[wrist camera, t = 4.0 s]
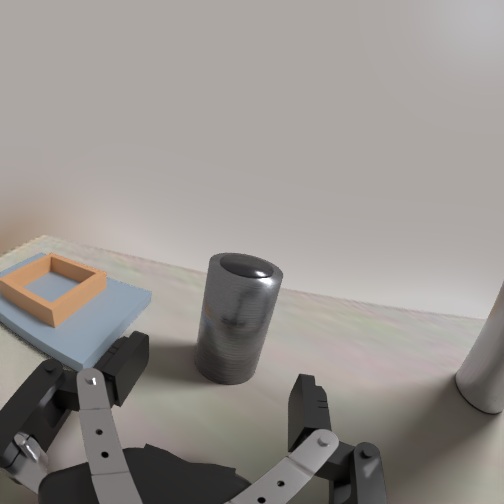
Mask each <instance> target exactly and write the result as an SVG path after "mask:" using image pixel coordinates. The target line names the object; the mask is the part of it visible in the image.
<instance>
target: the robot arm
mask: <svg viewBox="0 0 504 504" xmlns="http://www.w3.org/2000/svg"><path fill="white" fill-rule="evenodd" d="M148 359H149V336H148V335H147V334H144V333H141V332H138V331H134V332H133V333H132V334H131V335H130V337H129V338H128V337H125V336H124V337H122V338H120V339H118V340H116V341H115V342H114V343H113V345H112V346H111V347H110V348H109V349H108V350H107V352H106V353H105V354H104V355H103V356H102V357H101V358H100V360H99V361H98V362H97V363H96V364H95V365H94V367H93V368H85V369H82V370H81V371H80V372H79V373H78V372H72V371H68V370H64V369H63V366H62V364H61V363H60V362H59V361H57V360H53V359H48V360H45V361H43V362H42V363H41V364H40V365H39V366H38V367H37V368H36V369H35V370H34V371H33V373H32V374H31V375H30V376H29V377H28V378H27V379H26V380H25V382H24V383H23V384H22V385H21V386H20V387H19V389H18V390H17V391H16V392H15V393H14V395H13V396H12V397H11V398H10V399H9V401H8V402H7V403H6V404H5V405H4V407H3V408H2V409H1V410H0V470H1V471H2V472H3V473H4V474H5V475H6V476H8V477H9V478H10V479H11V480H13V481H14V482H15V483H17V484H20V485H24V486H25V487H26V488H28V489H29V490H31V491H32V492H34V493H35V494H37V495H38V500H39V504H286V503H287V502H288V501H289V500H290V499H291V498H292V497H293V496H294V495H295V494H296V493H297V492H298V491H299V490H300V489H301V488H302V487H303V486H304V485H305V484H306V483H307V482H308V481H309V480H310V479H311V478H312V477H313V475H315V476H318V477H321V478H325V479H328V480H329V504H387V497H386V490H385V482H384V475H383V469H382V463H381V457H380V452H379V450H378V448H377V447H376V446H375V445H373V444H371V443H367V442H363V443H360V444H358V445H357V446H356V447H355V446H351V445H348V444H345V443H342V442H340V441H339V440H338V437H337V436H336V435H335V434H334V433H333V432H332V430H331V423H330V416H329V409H328V403H327V395H326V393H325V391H324V389H323V388H322V386H316V385H315V377H314V376H312V375H305V374H299V376H298V378H297V380H296V382H295V384H294V387H293V389H292V391H291V393H290V397H289V402H288V452H292V453H291V454H290V455H289V456H286V457H285V458H284V459H282V460H281V461H280V462H279V463H278V464H277V465H275V466H274V467H273V468H272V469H271V470H270V471H268V472H267V473H266V474H265V475H263V476H262V477H261V478H260V479H259V480H257V481H256V482H255V483H253V484H251V483H250V482H249V481H247V480H246V479H244V478H243V477H241V476H239V475H236V474H235V471H236V469H235V468H230V467H225V466H220V465H216V464H204V463H189V462H186V461H184V460H183V459H181V458H179V457H177V456H175V455H173V454H172V453H170V452H168V451H166V450H163V449H160V448H157V447H154V446H152V445H149V444H146V445H145V447H144V448H125V449H122V448H121V445H120V441H119V438H118V435H117V431H116V428H115V424H114V420H113V416H112V413H111V408H112V406H113V405H117V406H119V407H121V406H122V404H123V402H124V401H125V399H126V398H127V396H128V394H129V393H130V391H131V390H132V388H133V386H134V385H135V383H136V382H137V380H138V378H139V377H140V375H141V374H142V372H143V371H144V369H145V367H146V366H147V363H148ZM456 383H457V386H458V388H459V390H460V392H461V393H462V395H463V396H464V397H465V398H466V399H467V400H468V401H469V402H470V403H471V404H472V405H473V406H475V407H476V408H478V409H480V410H482V411H484V412H487V413H499V412H501V411H502V410H503V409H504V282H503V284H502V287H501V289H500V292H499V294H498V296H497V299H496V301H495V303H494V306H493V308H492V310H491V312H490V314H489V316H488V319H487V321H486V323H485V325H484V327H483V329H482V331H481V332H480V334H479V336H478V338H477V340H476V342H475V344H474V345H473V347H472V349H471V350H470V352H469V354H468V356H467V357H466V359H465V361H464V362H463V364H462V366H461V367H460V369H459V370H458V372H457V373H456ZM72 410H73V411H78V412H79V417H80V423H81V429H82V435H83V440H84V445H85V449H86V454H87V458H88V462H85V463H82V464H79V465H76V466H73V467H70V468H66V469H63V470H59V471H56V472H52V473H50V474H48V475H47V468H48V464H49V460H48V457H47V455H46V454H45V453H46V451H47V450H48V448H49V446H50V445H51V443H52V441H53V440H54V438H55V436H56V435H57V433H58V432H59V430H60V428H61V427H62V425H63V424H64V422H65V420H66V419H67V417H68V416H69V414H70V413H71V411H72Z"/></svg>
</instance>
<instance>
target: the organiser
mask: <svg viewBox="0 0 504 504" xmlns="http://www.w3.org/2000/svg"><path fill="white" fill-rule="evenodd" d="M151 294H152V292H151V291H148V290H144V289H141V288H138V287H135V286H132V285H129V284H126V283H123V282H120V281H117V280H114V279H111V278H108V277H106V272H104V271H101V270H98V269H95V268H92V267H89V266H86V265H83V264H81V263H78V262H75V261H72V260H70V259H67V258H64V257H62V256H59V255H56V254H54V253H50V254H47V255H46V254H43V253H39V254H37V255H35V256H33V257H31V258H29V259H26V260H24V261H22V262H20V263H18V264H16V265H14V266H12V267H10V268H8V269H6V270H4V271H2V272H0V322H2V323H3V324H4V325H6V326H7V327H8V328H10V329H11V330H12V331H14V332H15V333H16V334H18V335H19V336H21V337H22V338H23V339H25V340H26V341H28V342H29V343H31V344H32V345H34V346H35V347H37V348H38V349H40V350H41V351H43V352H45V353H46V354H48V355H49V356H51V357H53V358H54V359H56V360H58V361H60V362H61V363H63V364H65V365H67V366H68V367H70V368H72V369H74V370H76V371H77V372H80V371H81V370H82V369H85V368H92V367H93V366H94V364H95V363H96V362H97V361H98V360H99V359H100V358H101V356H102V355H103V354H104V353H105V352H106V351H107V350H108V348H109V347H110V346H111V345H112V344H113V343H114V342H115V340H116V339H117V338H118V337H119V336H120V335H121V334H122V333H123V332H124V330H125V329H126V328H127V327H128V326H129V325H130V324H131V323H132V322H133V320H134V319H135V318H136V317H137V316H138V315H139V314H140V313H141V312H142V311H143V310H144V308H145V307H146V306H147V305H148V304H149V303H150V302H151Z"/></svg>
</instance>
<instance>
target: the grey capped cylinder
mask: <svg viewBox="0 0 504 504" xmlns="http://www.w3.org/2000/svg"><path fill="white" fill-rule="evenodd" d="M282 278H283V273H282V271H281V270H280V269H279V268H278V267H277V266H275V265H274V264H272V263H270V262H268V261H266V260H263V259H261V258H258V257H254V256H250V255H246V254H239V253H221V254H217V255H214V256H213V257H211V259H210V262H209V268H208V274H207V280H206V286H205V292H204V299H203V305H202V312H201V318H200V325H199V332H198V339H197V347H196V354H195V365H196V367H197V369H198V370H199V372H200V373H201V374H202V375H203V376H205V377H206V378H208V379H210V380H211V381H214V382H217V383H220V384H226V385H235V384H240V383H244V382H246V381H248V380H249V379H250V378H251V377H252V376H253V375H254V373H255V370H256V366H257V363H258V360H259V357H260V354H261V350H262V347H263V344H264V340H265V337H266V334H267V330H268V327H269V324H270V320H271V317H272V314H273V310H274V307H275V303H276V300H277V296H278V293H279V289H280V285H281V282H282Z"/></svg>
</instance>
